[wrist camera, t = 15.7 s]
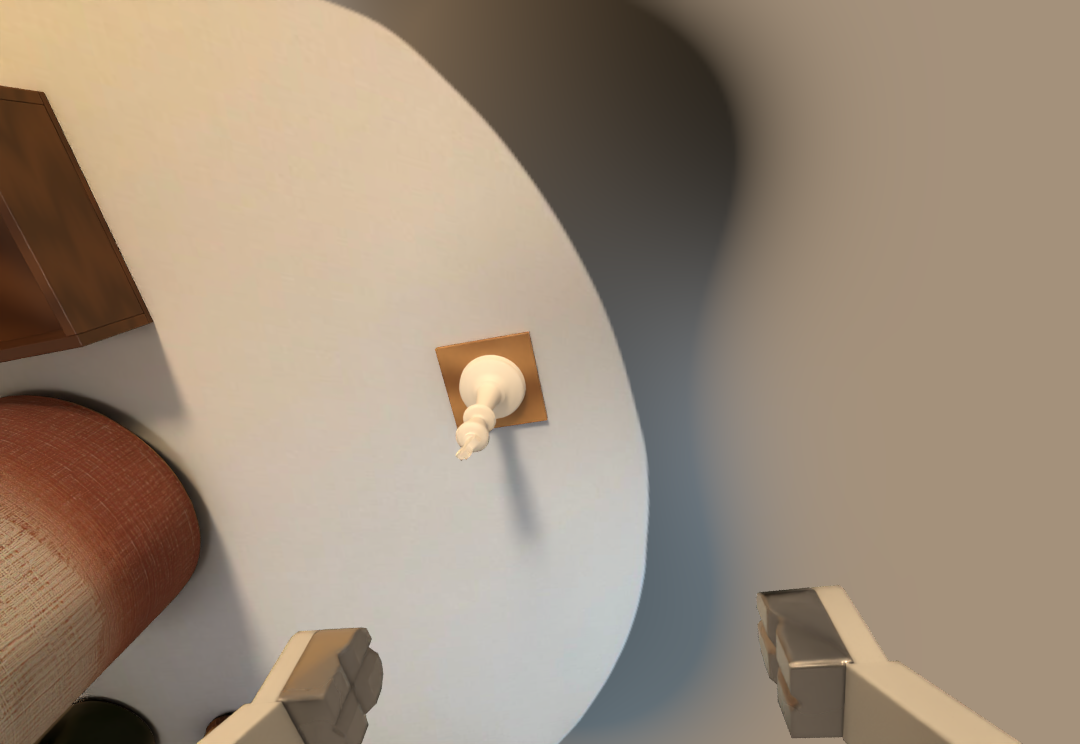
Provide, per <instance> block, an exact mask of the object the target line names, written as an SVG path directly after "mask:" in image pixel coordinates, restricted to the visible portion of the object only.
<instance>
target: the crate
mask: <svg viewBox="0 0 1080 744" xmlns="http://www.w3.org/2000/svg"><path fill="white" fill-rule="evenodd" d="M152 322H153V321H152V319H151V317H150V315H149V313H148V310H147V308H146V306H145V304H144V302H143V300H142V298H141V296H140V294H139V292H138V289H137V287H136V285H135V283H134V281H133V279H132V277H131V275H130V273H129V271H128V268H127V266H126V264H125V262H124V260H123V258H122V256H121V254H120V252H119V250H118V247H117V245H116V243H115V241H114V239H113V237H112V235H111V233H110V231H109V229H108V226H107V224H106V222H105V220H104V218H103V216H102V214H101V212H100V210H99V208H98V205H97V203H96V201H95V199H94V197H93V195H92V193H91V191H90V189H89V187H88V184H87V182H86V180H85V178H84V176H83V174H82V172H81V170H80V168H79V166H78V163H77V161H76V159H75V157H74V155H73V153H72V151H71V149H70V147H69V145H68V142H67V140H66V138H65V136H64V134H63V132H62V130H61V128H60V126H59V124H58V121H57V119H56V117H55V115H54V113H53V111H52V109H51V107H50V105H49V103H48V100H47V98H46V96H45V94H44V92H39V91H32V90H25V89H19V88H12V87H6V86H0V362H6V361H11V360H16V359H21V358H26V357H32V356H37V355H42V354H47V353H52V352H58V351H63V350H68V349H73V348H78V347H83V346H86V345H89V344H92V343H95V342H98V341H100V340H103V339H106V338H109V337H112V336H115V335H117V334H120V333H123V332H126V331H129V330H132V329H135V328H137V327H140V326H143V325H146V324H148V323H152Z"/></svg>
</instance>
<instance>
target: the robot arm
mask: <svg viewBox="0 0 1080 744" xmlns="http://www.w3.org/2000/svg"><path fill="white" fill-rule="evenodd" d="M756 604H757V605H756V606H757V610H758V612H759V615H760V618H761V621H760V622H759V623H758V624H757V625H758V638H759V643H760V649H761V654H762V657H763V660H764V664H765V667H766V670H767V672H768V675H769V678H770V679H771V680H773V681H774V682H775V683H776V684H777V690H778V702H779V705H780V708H781V711H782V713H783V716H784V719H785V721H786V724H787V727H788V729H789V732H790V735H791V737H792V738H820V737H843V740H844V741H845V742H846V743H847V744H1022V743H1020V742H1019V741H1017V740H1016V739H1014V738H1013V737H1011V736H1010V735H1008V734H1007V733H1005V732H1004V731H1002V730H1001V729H1000V728H998V727H997V726H995V725H994V724H992V723H990V722H989V721H987V720H986V719H985V718H983V717H982V716H980V715H979V714H977V713H976V712H974V711H973V710H971V709H970V708H968V707H967V706H965V705H964V704H962V703H961V702H959V701H958V700H956V699H955V698H953V697H952V696H950V695H949V694H947V693H946V692H944V691H942V690H941V689H940V688H938V687H937V686H935V685H934V684H932V683H931V682H929V681H928V680H926V679H925V678H923V677H922V676H920V675H919V674H917V673H915V672H914V671H913V670H911V669H909V668H908V667H907V666H905V665H904V664H902V663H901V662H899V661H889V660H888V658H887V657H886V655H885V654H884V652H883V650H882V649H881V647H880V646H879V644H878V642H877V641H876V639H875V638H874V636H873V634H872V633H871V631H870V630H869V628H868V626H867V625H866V623H865V622H864V620H863V618H862V617H861V615H860V613H859V612H858V611H857V609H856V607H855V606H854V604H853V602H852V601H851V599H850V598H849V596H848V594H847V593H846V591H845V590H844V588H842V587H841V586H839V585H833V586H823V587H812V588H800V589H789V590H779V591H769V592H759V593H757V596H756ZM371 640H372V638H371V636H370V634H369V632H368V630H367V628H343V629H325V630H314V631H299V632H297V633H296V634H295V635H293V636H292V637H291V638H290V640H289V642H288V643H287V645H286V647H285V648H284V650H283V652H282V653H281V655H280V657H279V658H278V660H277V661H276V663H275V665H274V666H273V668H272V670H271V671H270V673H269V675H268V676H267V678H266V680H265V681H264V683H263V685H262V686H261V688H260V689H259V691H258V693H257V694H256V696H255V698H254V699H253V701H252V703H251V704H244V705H243V706H241V707H240V708H239V709H238V710H237V711H235V712H234V713H233V714H232V715H231V716H229V717H228V718H227V719H226V720H224V721H223V722H222V723H221V724H220V725H218V726H217V727H216V728H215V729H214V730H212V731H211V732H210V733H209V734H208V735H206V736H205V737H204V738H203V739H201V740H200V741H199V742H198V743H197V744H361V743H362V741H363V738H364V735H365V733H366V730H367V727H368V721H367V718H366V713H367V712H368V711H369V710H370V709H371V708H372V707H373V706H374V705H375V704H376V703H377V700H378V698H379V695H380V692H381V689H382V680H383V668H382V662H381V659H380V657H379V655H378V654H377V653H376V652H375V651H373V650H372V649H370V648H369V645H370V642H371Z"/></svg>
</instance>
